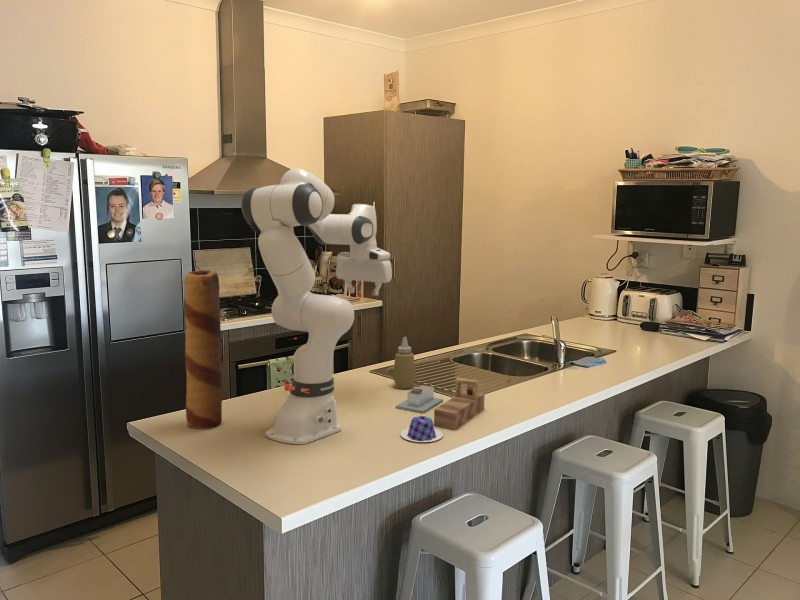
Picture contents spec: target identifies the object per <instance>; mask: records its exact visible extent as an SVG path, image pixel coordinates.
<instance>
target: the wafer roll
mask: <svg viewBox="0 0 800 600" xmlns="http://www.w3.org/2000/svg"><path fill="white" fill-rule="evenodd" d="M220 302H221V301H220V279H219V275H218V272H217V271H212V270H208V269H204V270H203V269H202V270H196V271H195V270H194V271H193V270H192V271H189V272H187V273H186V275H185V277H184V299H183V305H184V319H185V320H184V321H185V332H184V333H185V344H184V346H185V350H184V357H185V371H186V392H185V394H186V395H185V398H186V399H185V417H186V425H187V426H188V427H189V428H195V429H202V428H203V429H206V428H214V427H217V426H219V425H221V424H222V422H223V418H222V415H223V414H222V412H223V410H222V406H223V405H222V404H223V374H222V362H221V342H222V340H221V337H222V330H221V307H220V304H221V303H220Z"/></svg>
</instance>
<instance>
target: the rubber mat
mask: <svg viewBox="0 0 800 600" xmlns="http://www.w3.org/2000/svg"><path fill="white" fill-rule="evenodd" d="M443 402H444V399H443V398H439V397H434V399H433V400H431V401H429V402H427V403H426V404H424V405H422V406H421V407H416V406H411V405H407V403H408V398H406V400H404V401H402V402H400V403H398V404H397V405H395V409H397V408H398V409H399V410H402V409H404V410H403V411H407V410H409V412H413V411H414V412H413V413H418V412H420V413H419V414H423V413H424V414H425V413H427V412H429V411H430V410H432V409H433V408H435V407H436V405H437V406H439V405H441V404H442V403H443ZM431 408H432V409H431ZM398 409H397V410H398ZM428 410H429V411H428ZM426 411H427V412H426Z"/></svg>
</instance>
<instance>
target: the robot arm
mask: <svg viewBox="0 0 800 600" xmlns="http://www.w3.org/2000/svg"><path fill="white" fill-rule="evenodd" d="M240 206H241V212H242V215H243V218H244V219H245V222H246V223H247V224H248V225H249V226H250V228H251V229H252V230H253V232H255V233H257V234H258V235H259V236H258V241H257V243H258V249H259V251H260V256H261V258H262V261H263V263H264V265H265V268H266V270H267V271H268V274H269V275H270V277H271V280H272V282H273V285H275V286H274V287H276V288H275V289H276V290H277V294H278V295H277V296H276V298H274V301H273V303H272V307H271V316H272V319H273V321H274V324H276V325H278V326H280V327H282V328H285V329H288V330H291V331H298V332H308V339H307V342H306V343H305V344H303V345H301V346H299V347H298V348H297V349H296V351H295V352H294V354H293V379H292V380H291V381H292V382H291V384H289V383H285V384H284V387H283V390H284V391H286V392H290V393H289V394H288V396H287V398H286V399H285V400H284V402H283V403H282V404H281V406H280V407H279V408H278V410H276V412H275V415H274V419H273V420H274V422H273V426H271V428H269V429H267V430H266V431H265V436H266V437H267V438H269V439H270V440H273V441H276V442H280V443H283V444H284V443H285V444H291V445H292V444H293V445H305V444H309V443H312V442H313V441H317V440H318V439H319V440H320V439H322V438H324V437H328V436H330V435H333V434H336V433H338V432H340V431H341V430H342V426H341V425H340V424H339V417H338V416H339V415H338V406H337V401H336V399H335V396H334V390H335V382H334V381H335V380H334V377H333V359H334V353H335V352H334V351H335V347H336V345H337V343H338V341H339V340H340V338H341V337H343V335H345V334H346V333H347V332H348V331H349V330H350V329H351V328H352V326H353V324H354V321H355V310H354V306H353V305H352V303H351V302H350V301H349V300H347V299H345V298H342V297H338V296H335V295H328V294H319V293H314V292H311V291H310V290H311V289H313V287H314V285H315V282H316V272H315V270H314V268H313V265H312V264H311V262H310V259H309V257H308V255H307V253H306V251H305V249H304V247H303V245H302V244H301V242H300V240H299V238H298V237H297V236H296V234H295V231H294V227H299V226H304V227H307V229H308V230H310V233H312V236H313V237H314V239H315V240H316V242H318V244H320V245H325V246H326V245H346V246H347V245H349V251H340V252H339V253H338V254H337V256H336V259H337V260H336V262H337V263H336V269H335V276H336V279H338V280H345V281H344V283H345V285H346V286H347V288H348V292H347V293H349V294H355V292H356V291H355V290H356V287H353V284H352V283H353V281H358V282H361V281H362V282H369V283H370V282H371V283H374V285H375V288H374V289H372V290H371V294H372V296H376V297H377V296H379V293H380V289H381V287H382V286H383V285H382V284H387V283H390V282H391V280H392V279H393V272H392V271H393V270H392V269H393V268H392V263H391V261H390V258H391V253H390V252H389V251H386V250H384V249H381V248H380V247H378V246H377V240H376V239H377V238H376V237H377V236H376V235H377V231H378V228H377V227H378V225H377V223H378V222H377V211H376V207H375V206H373V205H371V204H367V203H360V202H359V203H354V204H352V205H351V210H350V212H349V213H348V214H347V213H346V214H344V213H343V214H342V213H340V214H339V213H338V214H337V213H335V214H334V213H332V211H333V209H334V207H335V194H334V192H333V191H332V190H331V188H330V187H329V186H328V185H327V184H326V183H325V182H324V181H323V180H322V179H320V178H319V176H316V175H315V174H313V173H312V172H310V171H308V170H305V169H303V168H299V167H297V168H295V167H294V168H292V169H289V170H288V171H286V172H285V173H284V174H283V175H282V176H281V179H280V183H279V184H273V185H271V184H270V185H266V186H256V187H253V188H250V189H247V191H245V193H244V194H243V197H242V199H241V205H240Z"/></svg>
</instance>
